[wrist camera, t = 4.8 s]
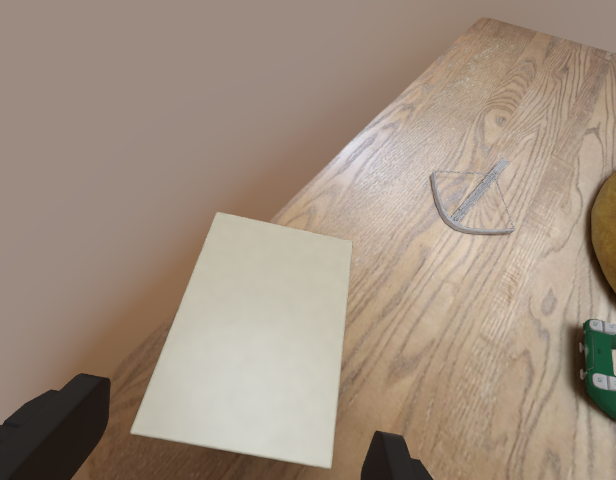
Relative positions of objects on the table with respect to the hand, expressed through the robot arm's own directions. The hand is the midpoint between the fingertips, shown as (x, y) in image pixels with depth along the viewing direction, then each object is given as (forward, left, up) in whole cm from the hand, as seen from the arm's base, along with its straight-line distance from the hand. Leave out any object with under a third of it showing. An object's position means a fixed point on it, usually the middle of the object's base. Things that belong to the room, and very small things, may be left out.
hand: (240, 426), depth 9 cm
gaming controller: (+34, +10, -19) cm, 40 cm away
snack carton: (0, +3, -8) cm, 9 cm away
